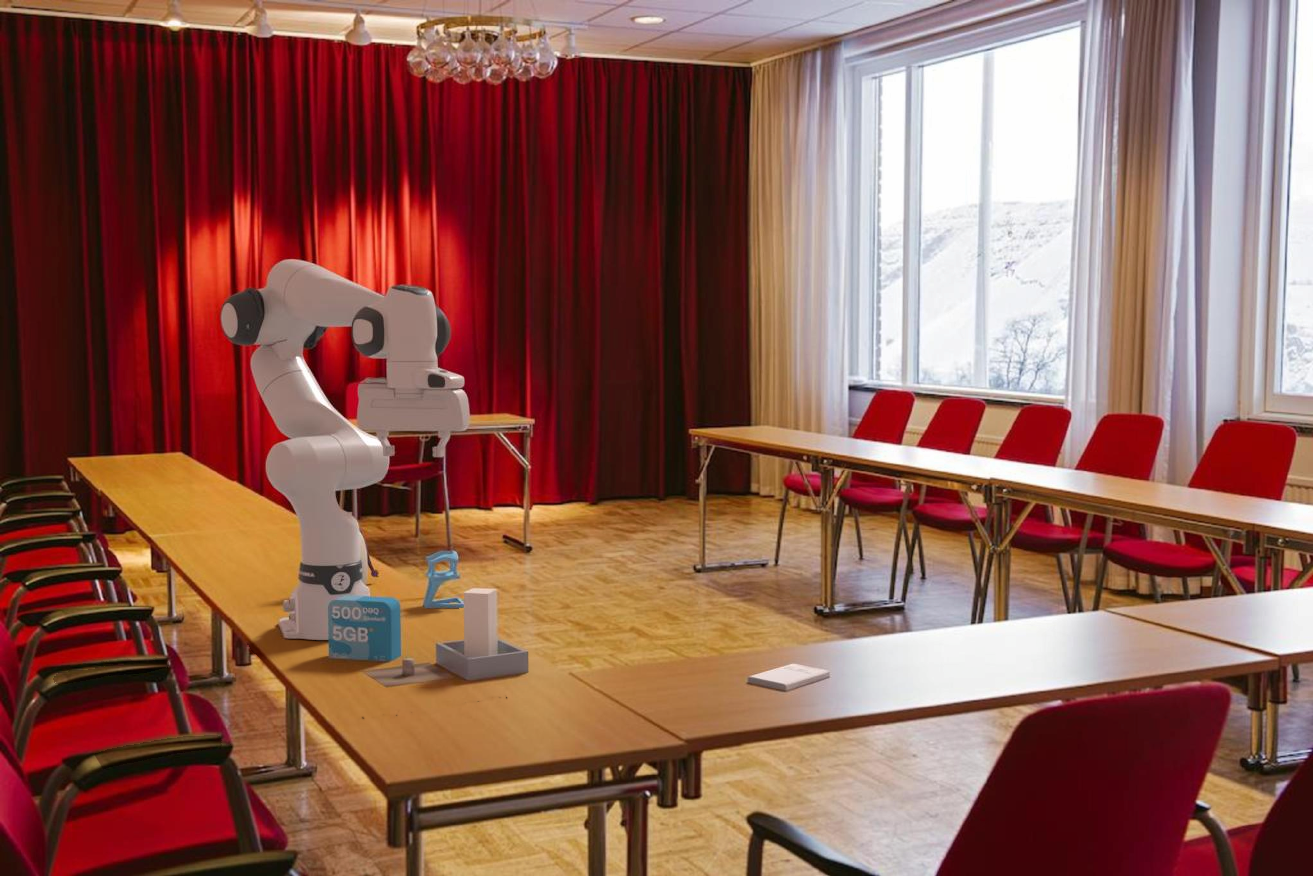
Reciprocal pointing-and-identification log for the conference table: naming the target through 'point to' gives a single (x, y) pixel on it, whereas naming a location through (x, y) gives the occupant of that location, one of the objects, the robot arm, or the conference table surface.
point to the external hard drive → (789, 677)
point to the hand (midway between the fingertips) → (413, 456)
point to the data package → (364, 628)
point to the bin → (482, 660)
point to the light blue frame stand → (441, 580)
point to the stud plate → (404, 680)
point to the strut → (480, 622)
